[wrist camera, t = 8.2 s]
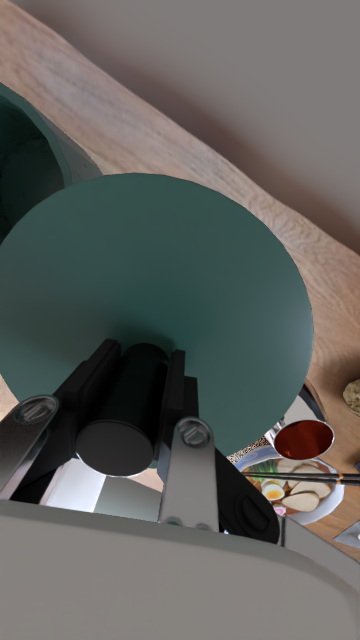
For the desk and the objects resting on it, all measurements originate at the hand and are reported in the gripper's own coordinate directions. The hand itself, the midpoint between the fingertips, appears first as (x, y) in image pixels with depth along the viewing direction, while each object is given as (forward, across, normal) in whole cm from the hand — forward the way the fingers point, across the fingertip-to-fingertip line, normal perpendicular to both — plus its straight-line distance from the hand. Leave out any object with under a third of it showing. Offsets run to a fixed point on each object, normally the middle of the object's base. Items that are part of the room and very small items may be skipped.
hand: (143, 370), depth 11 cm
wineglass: (+24, -15, +10) cm, 30 cm away
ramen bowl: (+24, -27, +37) cm, 52 cm away
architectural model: (+24, -63, +62) cm, 92 cm away
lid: (+1, 0, 0) cm, 1 cm away
